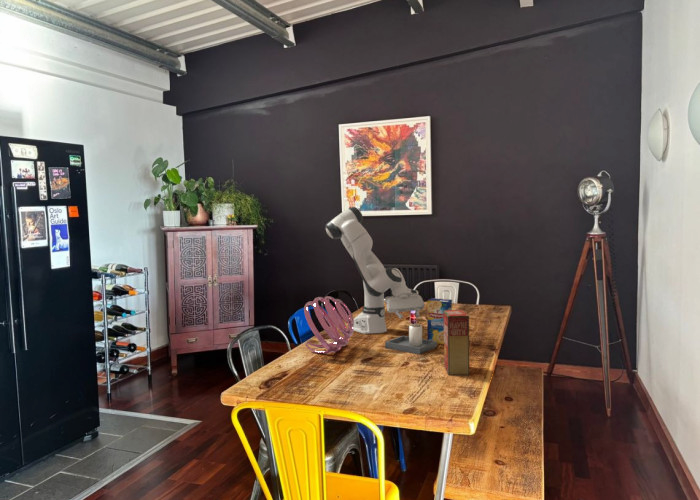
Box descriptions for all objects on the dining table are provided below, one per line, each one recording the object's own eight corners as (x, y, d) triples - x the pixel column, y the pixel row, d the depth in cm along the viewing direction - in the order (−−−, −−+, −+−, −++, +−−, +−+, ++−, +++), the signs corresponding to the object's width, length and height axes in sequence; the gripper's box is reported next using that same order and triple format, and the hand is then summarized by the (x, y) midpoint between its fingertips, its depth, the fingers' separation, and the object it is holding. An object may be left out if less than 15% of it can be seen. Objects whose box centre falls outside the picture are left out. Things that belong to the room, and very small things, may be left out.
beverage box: (447, 344, 262) (448, 301, 260) (427, 342, 267) (427, 300, 265) (451, 341, 268) (452, 299, 266) (431, 339, 273) (431, 298, 271)
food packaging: (442, 365, 227) (442, 309, 225) (464, 365, 227) (464, 309, 225) (447, 375, 214) (447, 315, 212) (470, 375, 213) (470, 315, 212)
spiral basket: (277, 314, 247) (323, 283, 242) (302, 316, 273) (343, 288, 268) (304, 365, 238) (352, 334, 233) (327, 363, 264) (370, 335, 259)
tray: (385, 347, 257) (385, 341, 257) (403, 341, 270) (402, 335, 269) (419, 354, 245) (419, 348, 244) (436, 347, 257) (436, 341, 257)
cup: (406, 348, 252) (406, 326, 252) (413, 345, 257) (413, 323, 256) (417, 350, 248) (417, 327, 248) (424, 347, 253) (424, 325, 252)
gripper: (384, 293, 268) (392, 315, 259) (420, 290, 274) (429, 312, 266) (381, 300, 272) (389, 322, 264) (417, 297, 279) (425, 318, 270)
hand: (409, 317), depth 265 cm, fingers open, 8 cm apart
